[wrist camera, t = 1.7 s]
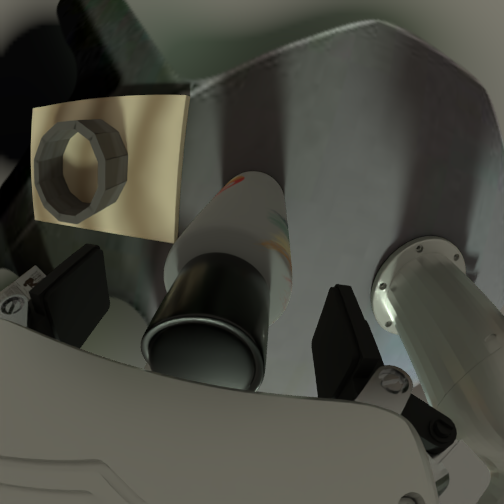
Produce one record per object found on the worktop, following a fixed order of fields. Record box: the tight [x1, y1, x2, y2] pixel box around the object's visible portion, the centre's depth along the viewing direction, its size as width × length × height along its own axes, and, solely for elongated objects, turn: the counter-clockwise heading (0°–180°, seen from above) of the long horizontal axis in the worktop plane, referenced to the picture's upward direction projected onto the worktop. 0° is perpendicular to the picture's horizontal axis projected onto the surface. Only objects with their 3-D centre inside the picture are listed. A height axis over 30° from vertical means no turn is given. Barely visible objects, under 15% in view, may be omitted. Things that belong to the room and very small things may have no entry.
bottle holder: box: [31, 95, 190, 243], centre depth 23 cm, size 20×14×5 cm
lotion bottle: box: [141, 171, 292, 391], centre depth 16 cm, size 6×6×20 cm
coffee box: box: [0, 265, 46, 303], centre depth 26 cm, size 9×6×16 cm
